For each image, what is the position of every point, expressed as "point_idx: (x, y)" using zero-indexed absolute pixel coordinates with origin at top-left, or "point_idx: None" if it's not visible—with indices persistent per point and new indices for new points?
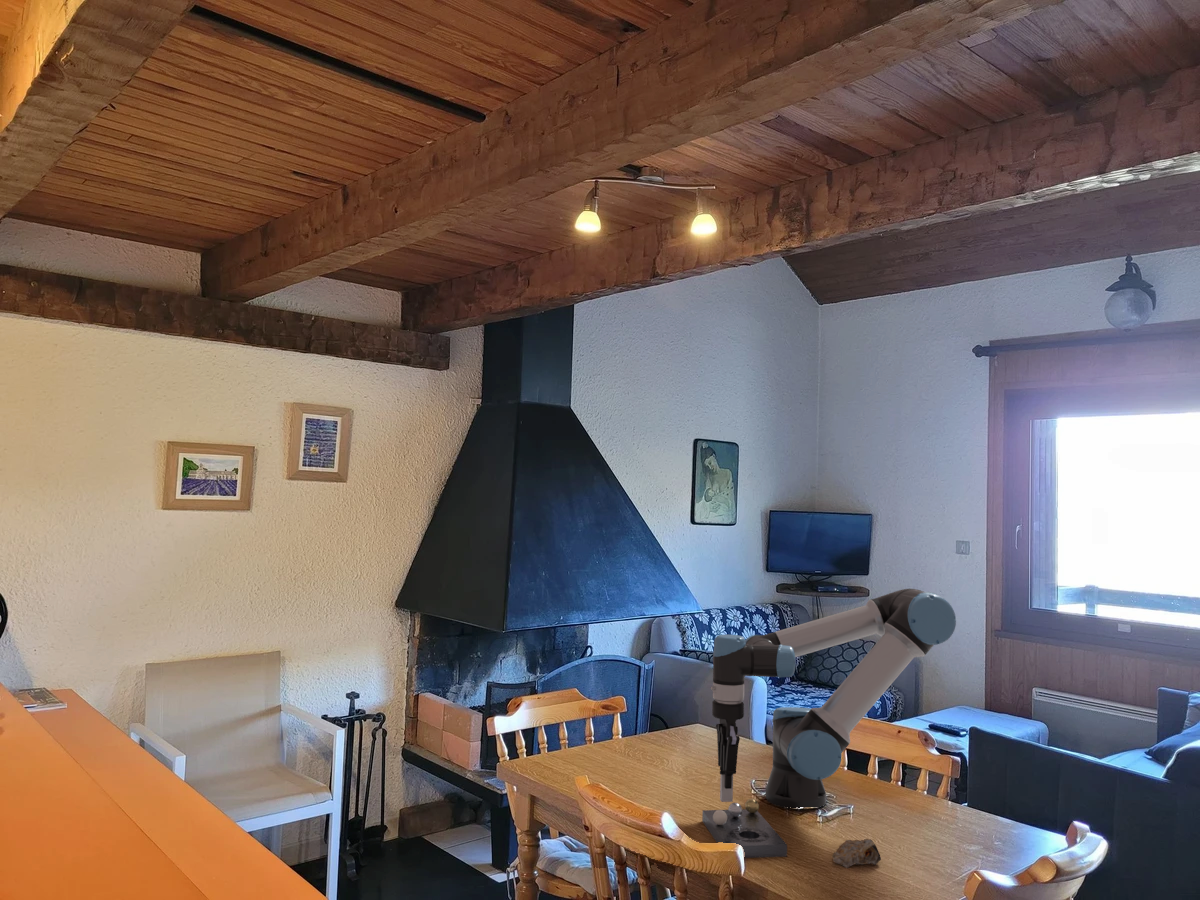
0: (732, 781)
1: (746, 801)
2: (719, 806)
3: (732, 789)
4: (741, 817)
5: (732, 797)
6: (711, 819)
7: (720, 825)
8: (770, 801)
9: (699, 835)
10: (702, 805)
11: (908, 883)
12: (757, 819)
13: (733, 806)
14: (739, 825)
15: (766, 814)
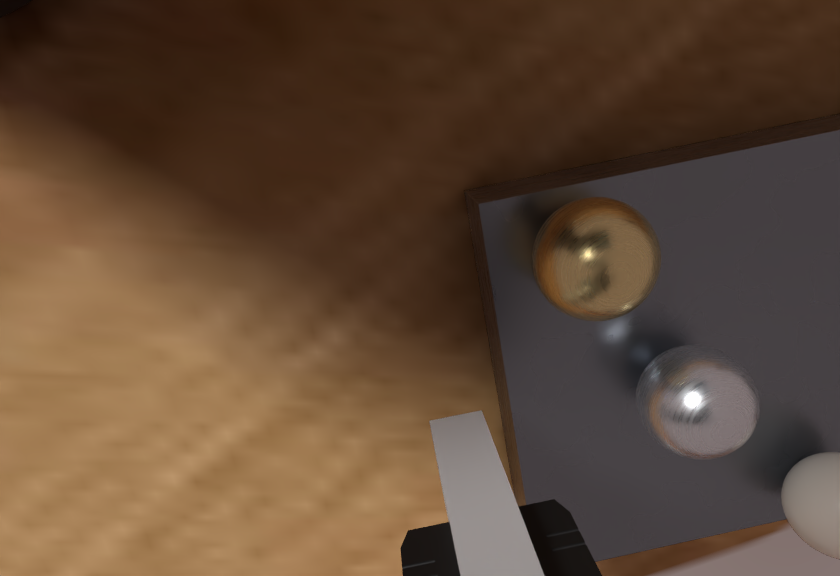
0: (525, 530)
1: (591, 318)
2: (211, 425)
3: (504, 474)
4: (674, 332)
5: (487, 430)
6: (710, 522)
7: None
8: (13, 6)
9: (739, 534)
10: (217, 527)
11: None
12: (720, 215)
13: (750, 436)
14: (831, 355)
15: (324, 87)
